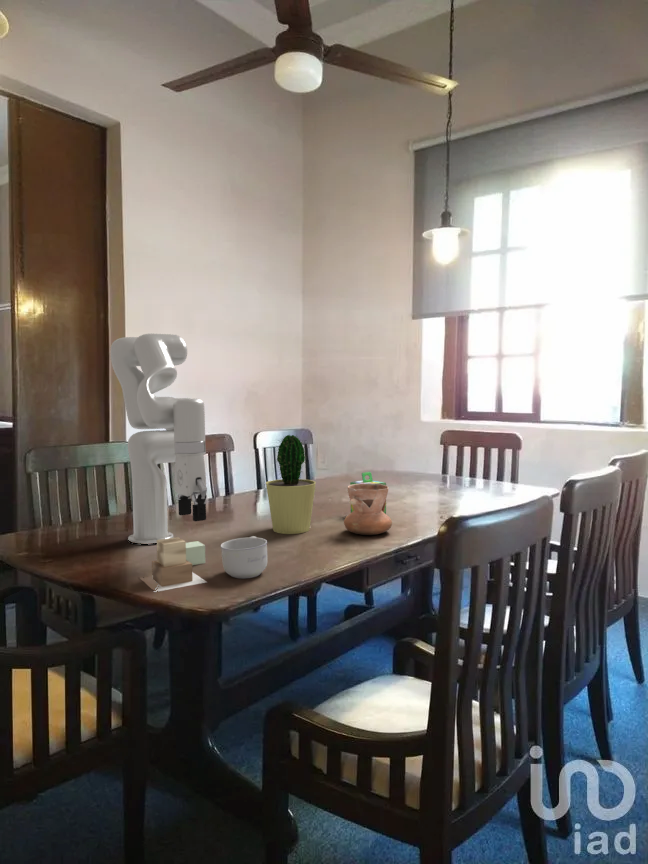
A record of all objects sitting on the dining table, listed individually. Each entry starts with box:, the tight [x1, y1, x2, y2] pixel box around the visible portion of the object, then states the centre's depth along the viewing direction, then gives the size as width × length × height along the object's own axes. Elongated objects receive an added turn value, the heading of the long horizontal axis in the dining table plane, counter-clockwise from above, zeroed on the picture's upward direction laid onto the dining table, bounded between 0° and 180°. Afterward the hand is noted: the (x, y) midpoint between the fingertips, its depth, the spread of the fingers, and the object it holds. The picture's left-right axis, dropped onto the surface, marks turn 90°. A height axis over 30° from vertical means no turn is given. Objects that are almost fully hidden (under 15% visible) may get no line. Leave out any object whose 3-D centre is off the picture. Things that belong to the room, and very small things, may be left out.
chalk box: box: [349, 471, 387, 515], centre depth 210 cm, size 9×9×15 cm
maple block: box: [156, 536, 187, 567], centre depth 139 cm, size 5×5×5 cm
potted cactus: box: [265, 434, 317, 535], centre depth 189 cm, size 15×15×30 cm
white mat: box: [153, 571, 207, 593], centre depth 139 cm, size 12×12×1 cm
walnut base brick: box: [151, 560, 193, 587], centre depth 139 cm, size 7×7×4 cm
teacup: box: [220, 535, 268, 579], centre depth 145 cm, size 14×11×8 cm
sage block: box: [186, 540, 206, 566], centre depth 153 cm, size 5×5×5 cm
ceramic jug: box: [343, 483, 393, 536], centre depth 186 cm, size 18×14×14 cm
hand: (192, 517), depth 152 cm, fingers open, 9 cm apart
